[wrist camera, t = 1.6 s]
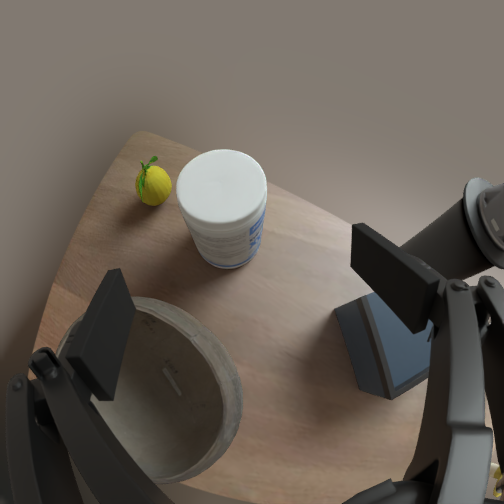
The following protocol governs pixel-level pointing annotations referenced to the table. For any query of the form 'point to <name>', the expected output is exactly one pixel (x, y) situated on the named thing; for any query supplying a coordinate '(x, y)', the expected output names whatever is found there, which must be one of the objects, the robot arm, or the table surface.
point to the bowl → (172, 394)
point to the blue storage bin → (383, 347)
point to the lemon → (153, 184)
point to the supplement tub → (223, 206)
